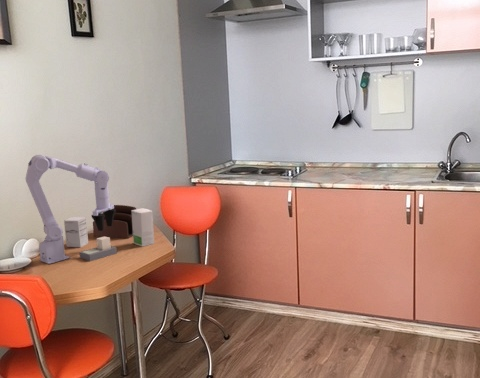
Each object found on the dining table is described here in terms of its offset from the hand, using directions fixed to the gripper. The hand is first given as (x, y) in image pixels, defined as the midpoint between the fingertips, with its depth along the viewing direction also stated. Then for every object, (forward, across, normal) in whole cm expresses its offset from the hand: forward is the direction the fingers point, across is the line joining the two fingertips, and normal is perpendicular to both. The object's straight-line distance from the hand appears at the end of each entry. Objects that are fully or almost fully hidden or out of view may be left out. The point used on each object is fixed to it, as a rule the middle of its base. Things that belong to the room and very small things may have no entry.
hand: (105, 228), depth 235 cm
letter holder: (+10, +24, +9) cm, 28 cm away
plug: (+10, -5, -2) cm, 11 cm away
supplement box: (+10, +6, +18) cm, 22 cm away
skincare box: (+10, +11, -12) cm, 19 cm away
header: (+10, -8, 0) cm, 13 cm away
